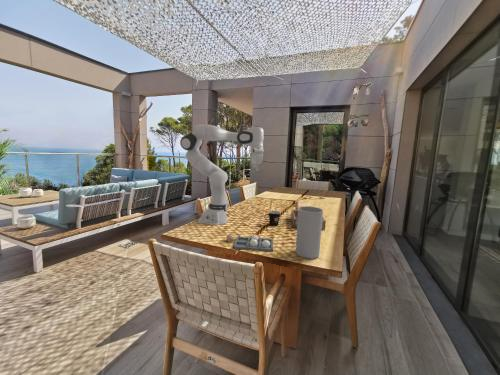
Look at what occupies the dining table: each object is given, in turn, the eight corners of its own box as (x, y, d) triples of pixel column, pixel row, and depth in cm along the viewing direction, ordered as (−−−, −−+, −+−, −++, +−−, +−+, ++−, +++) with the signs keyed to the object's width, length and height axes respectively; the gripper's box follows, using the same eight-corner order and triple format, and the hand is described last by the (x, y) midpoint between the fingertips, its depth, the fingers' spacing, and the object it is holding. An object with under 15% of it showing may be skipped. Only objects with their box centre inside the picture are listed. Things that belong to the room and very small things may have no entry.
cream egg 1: (250, 243, 131) (250, 236, 130) (250, 240, 135) (251, 233, 135) (258, 244, 130) (258, 236, 130) (258, 240, 135) (258, 233, 134)
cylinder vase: (323, 258, 116) (327, 212, 112) (300, 259, 114) (304, 212, 110) (312, 248, 128) (316, 206, 124) (292, 249, 126) (295, 206, 122)
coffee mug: (279, 223, 172) (280, 211, 170) (279, 227, 163) (280, 214, 162) (264, 222, 173) (264, 210, 171) (263, 226, 164) (264, 213, 163)
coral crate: (293, 228, 162) (294, 218, 161) (290, 218, 187) (291, 210, 186) (324, 230, 160) (325, 220, 159) (317, 219, 185) (318, 211, 184)
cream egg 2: (249, 248, 124) (249, 240, 123) (249, 245, 128) (250, 237, 128) (257, 249, 123) (257, 241, 123) (257, 245, 128) (258, 238, 127)
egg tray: (233, 249, 123) (233, 246, 123) (237, 239, 138) (237, 236, 138) (273, 252, 121) (273, 249, 121) (272, 241, 136) (272, 238, 136)
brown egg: (225, 243, 132) (225, 235, 131) (227, 240, 136) (227, 232, 135) (233, 243, 131) (233, 236, 131) (234, 240, 136) (234, 233, 135)
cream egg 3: (261, 249, 123) (261, 241, 123) (261, 245, 128) (262, 238, 127) (269, 249, 123) (270, 242, 122) (269, 246, 127) (270, 238, 127)
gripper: (249, 150, 162) (248, 169, 165) (255, 150, 143) (254, 171, 145) (257, 150, 164) (256, 169, 166) (264, 150, 144) (263, 171, 146)
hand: (255, 170), depth 155 cm, fingers open, 8 cm apart
